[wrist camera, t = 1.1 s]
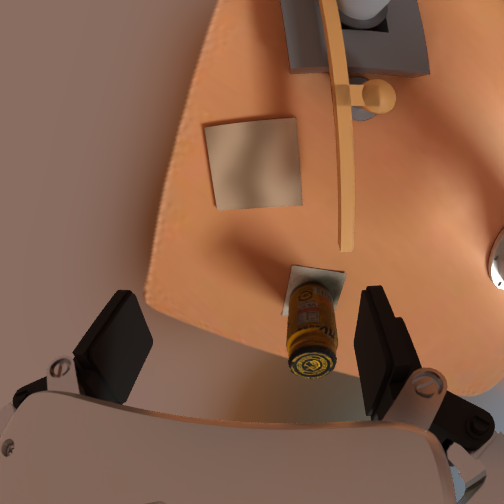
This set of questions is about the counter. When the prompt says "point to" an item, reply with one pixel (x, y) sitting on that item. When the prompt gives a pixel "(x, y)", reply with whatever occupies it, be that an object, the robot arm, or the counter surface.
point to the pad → (255, 164)
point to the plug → (361, 13)
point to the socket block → (358, 44)
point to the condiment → (312, 320)
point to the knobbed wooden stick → (348, 116)
